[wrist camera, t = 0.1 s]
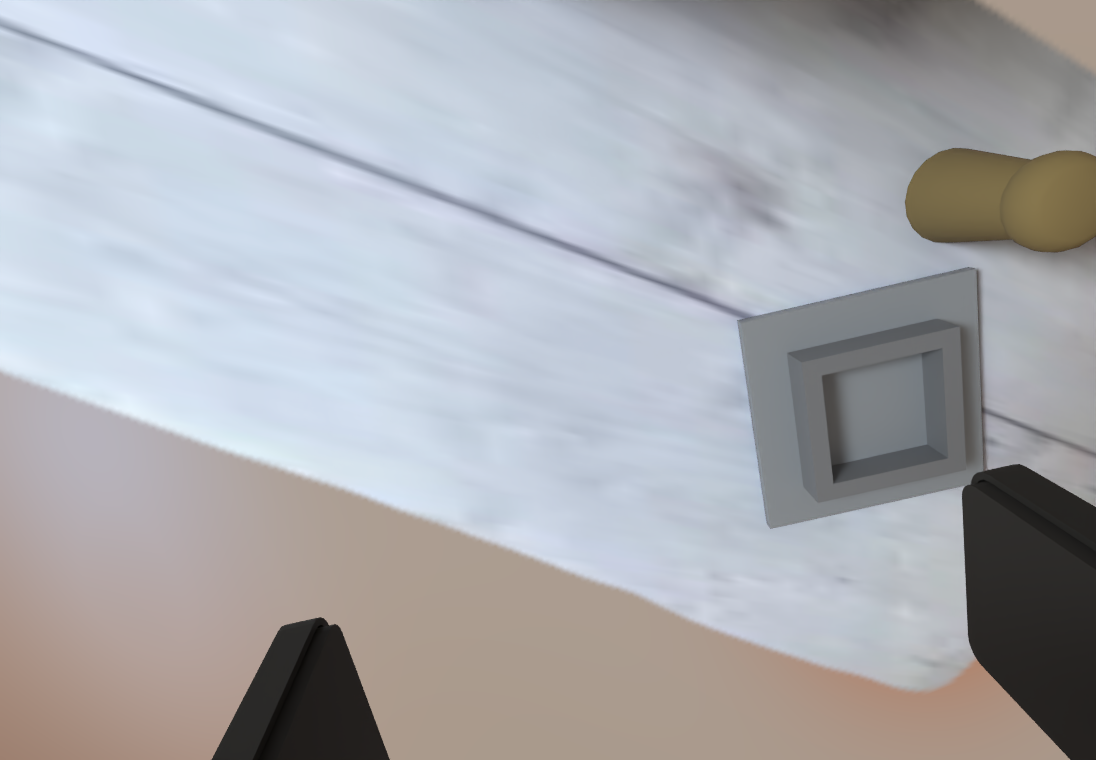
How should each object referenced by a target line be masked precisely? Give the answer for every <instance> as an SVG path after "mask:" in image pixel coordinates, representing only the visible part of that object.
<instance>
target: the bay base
mask: <svg viewBox="0 0 1096 760" xmlns="http://www.w3.org/2000/svg"><path fill="white" fill-rule="evenodd" d="M737 321H738V328H739V335H740V342H741V349H742V355H743V362H744V369H745V376H746V383H747V390H748V397H749V404H750V411H751V418H752V425H753V431H754V438H755V445H756V452H757V459H758V466H759V473H760V480H761V487H762V494H763V500H764V507H765V514H766V521H767V524H768V526H769V527H770V529H772V528H776V527H781V526H785V525H790V524H794V523H799V522H803V521H808V520H812V519H817V518H821V517H826V516H830V515H835V514H839V513H844V512H848V511H853V510H857V509H862V508H866V507H871V506H875V505H880V504H884V503H889V502H893V501H898V500H902V499H907V498H911V497H915V496H920V495H924V494H929V493H933V492H938V491H942V490H947V489H951V488H956V487H960V486H965V485H969V484H971V480H972V478H973V476H974V475H975V474H976V473H978V472H982V471H983V443H982V415H981V387H980V359H979V331H978V303H977V275H976V269H974V268H970V267H968V268H963V269H959V270H955V271H950V272H946V273H942V274H937V275H933V276H929V277H924V278H920V279H916V280H911V281H907V282H902V283H898V284H894V285H889V286H885V287H881V288H876V289H872V290H868V291H863V292H859V293H855V294H850V295H846V296H842V297H837V298H833V299H829V300H824V301H820V302H816V303H811V304H807V305H803V306H798V307H794V308H790V309H785V310H781V311H776V312H772V313H768V314H763V315H759V316H755V317H750V318H746V319H742V320H737Z"/></svg>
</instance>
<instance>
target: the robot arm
mask: <svg viewBox="0 0 1096 760" xmlns="http://www.w3.org/2000/svg"><path fill="white" fill-rule="evenodd" d="M962 506H963V529H964V551H965V574H966V597H967V620H968V638H969V643H970V646H971V649H972V651H973V653H974V655H975V657H976V658H977V660H978V661H979V663H980V664H981V665H982V666H983V667H984V668H985V670H986V671H988V673H989V674H990V675H991V676H992V677H993V678H994V679H995V680H996V681H997V682H998V683H999V684H1000V685H1001V686H1002V688H1003V689H1004V690H1005V691H1006V692H1007V693H1008V694H1009V695H1010V696H1011V697H1012V698H1013V699H1014V700H1015V701H1016V702H1017V703H1018V704H1019V706H1021V708H1022V709H1023V710H1024V711H1025V712H1026V713H1027V714H1028V715H1029V716H1030V717H1031V718H1032V719H1033V720H1034V721H1035V723H1036V724H1037V725H1038V726H1039V727H1040V728H1041V729H1042V730H1043V731H1044V732H1045V733H1046V734H1047V735H1048V736H1049V737H1050V738H1051V739H1052V740H1053V741H1054V743H1055V744H1056V745H1057V746H1058V747H1059V748H1060V749H1061V750H1062V751H1063V752H1064V753H1065V754H1066V755H1067V756H1068V758H1070V760H1096V507H1095V506H1093V505H1091V504H1089V503H1088V502H1086V501H1084V500H1082V499H1081V498H1079V497H1077V496H1076V495H1074V494H1072V493H1070V492H1069V491H1067V490H1065V489H1063V488H1062V487H1060V486H1058V485H1057V484H1055V483H1053V482H1051V481H1050V480H1048V479H1046V478H1044V477H1043V476H1041V475H1039V474H1038V473H1036V472H1034V471H1032V470H1031V469H1029V468H1027V467H1025V466H1023V465H1020V464H1015V465H1010V466H1005V467H1000V468H996V469H991V470H987V471H982V472H978V473H976V474H975V475H974V476H973V478H972V480H971V485H967V486H965V487H964V489H963V492H962ZM212 760H390V759H389V757H388V754H387V751H386V749H385V746H384V744H383V741H382V738H381V735H380V733H379V730H378V727H377V725H376V722H375V719H374V716H373V714H372V711H371V708H370V706H369V703H368V700H367V698H366V695H365V692H364V690H363V687H362V684H361V681H360V679H359V676H358V673H357V671H356V668H355V665H354V663H353V660H352V658H351V655H350V652H349V649H348V647H347V644H346V641H345V639H344V636H343V633H342V631H341V629H340V627H339V626H338V625H336V624H334V625H330V626H329V625H328V623H327V621H326V620H325V619H324V618H321V617H320V618H315V619H311V620H306V621H301V622H297V623H292V624H288V625H284V626H282V627H281V628H280V630H279V631H278V633H277V635H276V637H275V638H274V640H273V642H272V644H271V646H270V648H269V650H268V652H267V654H266V656H265V658H264V660H263V662H262V664H261V665H260V667H259V669H258V672H257V673H256V675H255V677H254V679H253V681H252V683H251V685H250V687H249V689H248V691H247V692H246V694H245V696H244V698H243V700H242V702H241V704H240V706H239V708H238V710H237V712H236V714H235V716H234V718H233V720H232V722H231V723H230V725H229V727H228V729H227V731H226V733H225V735H224V737H223V739H222V741H221V743H220V745H219V747H218V748H217V751H216V752H215V754H214V756H213V758H212Z"/></svg>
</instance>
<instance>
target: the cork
mask: <svg viewBox="0 0 1096 760" xmlns="http://www.w3.org/2000/svg"><path fill="white" fill-rule="evenodd" d="M905 205H906V214H907V218H908V220H909V222H910V224H911V226H912V228H913V229H914V230H915V231H916V232H917V233H918V234H919V235H920V236H921V237H923V238H925V239H928V240H930V241H933V242H945V243H950V242H970V241H990V240H1010V239H1013V240H1014V241H1015V242H1016V243H1018V244H1020V245H1022V246H1024V247H1026V248H1029V249H1031V250H1034V251H1040V252H1061V251H1066V250H1069V249H1073V248H1076V247H1079V246H1081V245H1082V244H1084V243H1086V242H1087V241H1089V240H1091V239H1092V238H1094V237H1095V236H1096V156H1093V155H1091V154H1089V153H1086V152H1082V151H1056V152H1052V153H1049V154H1045V155H1042V156H1039V157H1037V158H1034V159H1033V160H1030V159H1024V158H1018V157H1012V156H1007V155H1001V154H995V153H989V152H983V151H978V150H972V149H962V148H952V149H948V150H945V151H941V152H938V153H937V154H935V155H934V156H932V157H931V158H929V159H928V160H926V161H925V162H924V163H923V164H922V165H921V167H920V168H919V169H918V170H917V171H916V172H915V174H914V176H913V178H912V180H911V182H910V184H909V186H908V189H907V194H906V200H905Z"/></svg>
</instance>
